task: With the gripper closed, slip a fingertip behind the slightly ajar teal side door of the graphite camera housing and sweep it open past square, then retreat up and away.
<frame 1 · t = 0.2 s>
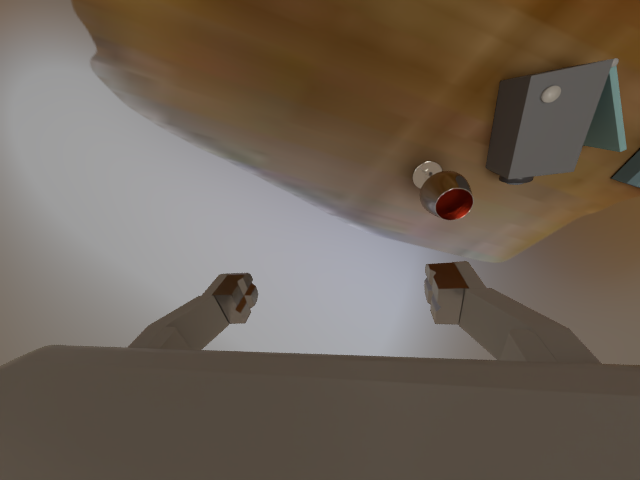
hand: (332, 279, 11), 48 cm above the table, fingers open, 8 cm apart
housing: (521, 123, 45), on the table
side door: (600, 106, 39), point 4 cm above the table, hinge at 25.0°
wineglass: (426, 175, 53), on the table
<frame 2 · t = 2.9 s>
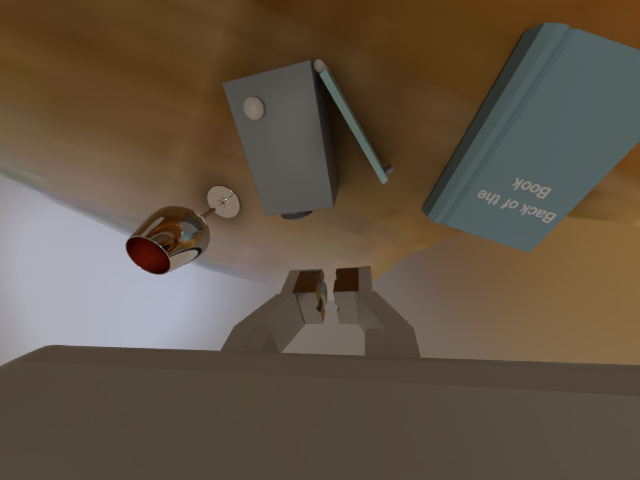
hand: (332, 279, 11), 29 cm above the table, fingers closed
housing: (300, 141, 35), on the table
book: (513, 153, 32), on the table
side door: (358, 122, 29), point 4 cm above the table, hinge at 25.0°
wineglass: (224, 201, 43), on the table
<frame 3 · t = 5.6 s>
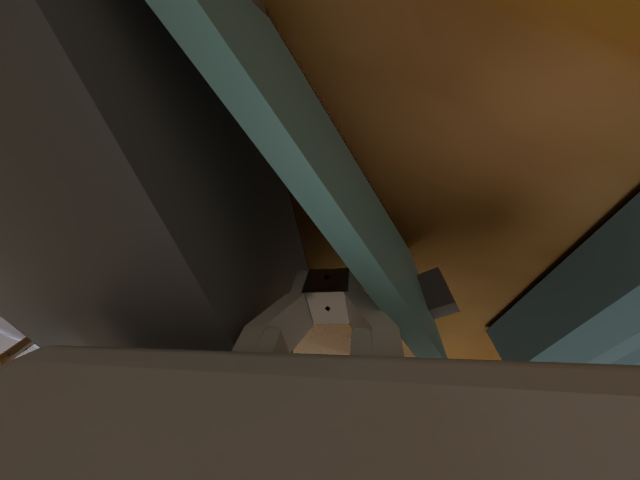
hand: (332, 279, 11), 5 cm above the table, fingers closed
housing: (214, 192, 15), on the table
side door: (347, 166, 9), point 4 cm above the table, hinge at 25.0°, touching gripper
wineglass: (101, 289, 23), on the table
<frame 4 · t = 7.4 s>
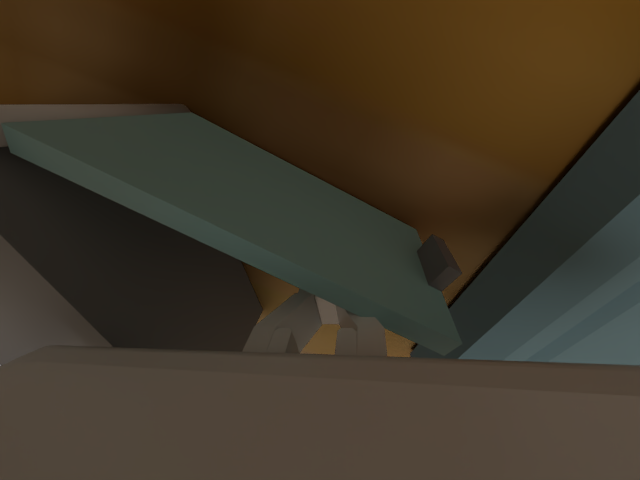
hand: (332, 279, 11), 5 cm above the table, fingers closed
housing: (172, 238, 18), on the table
book: (615, 279, 14), on the table
side door: (279, 189, 9), point 4 cm above the table, hinge at 53.6°, touching gripper
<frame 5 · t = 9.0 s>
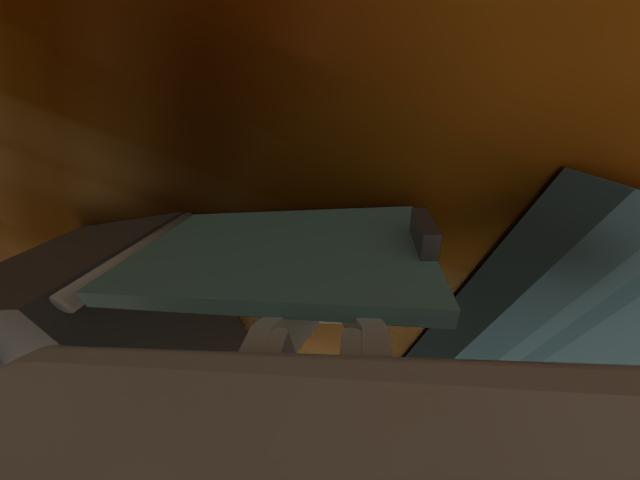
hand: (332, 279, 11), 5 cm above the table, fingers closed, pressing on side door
housing: (180, 296, 21), on the table
book: (533, 337, 18), on the table
side door: (259, 241, 11), point 4 cm above the table, hinge at 84.7°, touching gripper
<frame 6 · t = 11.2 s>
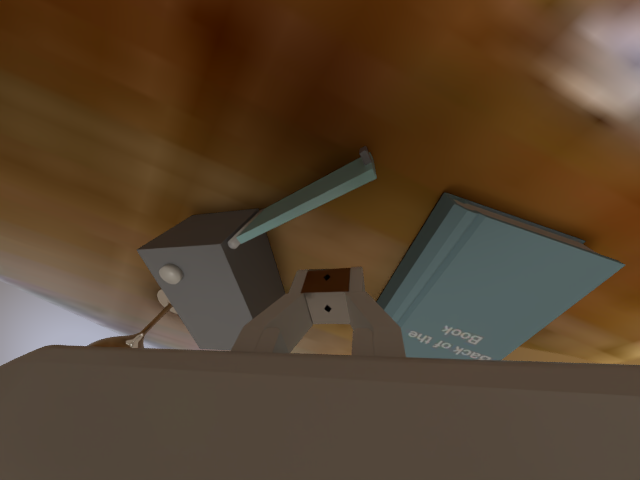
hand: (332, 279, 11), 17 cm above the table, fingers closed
housing: (243, 261, 34), on the table
book: (450, 285, 31), on the table
side door: (299, 195, 23), point 4 cm above the table, hinge at 110.2°
wineglass: (175, 300, 42), on the table
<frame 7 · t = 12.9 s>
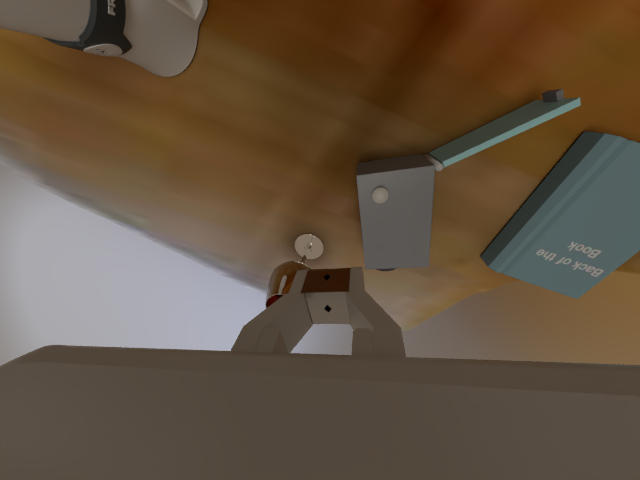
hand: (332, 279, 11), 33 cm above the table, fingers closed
housing: (389, 203, 42), on the table
book: (565, 216, 38), on the table
side door: (484, 132, 30), point 4 cm above the table, hinge at 110.2°
wineglass: (309, 246, 49), on the table
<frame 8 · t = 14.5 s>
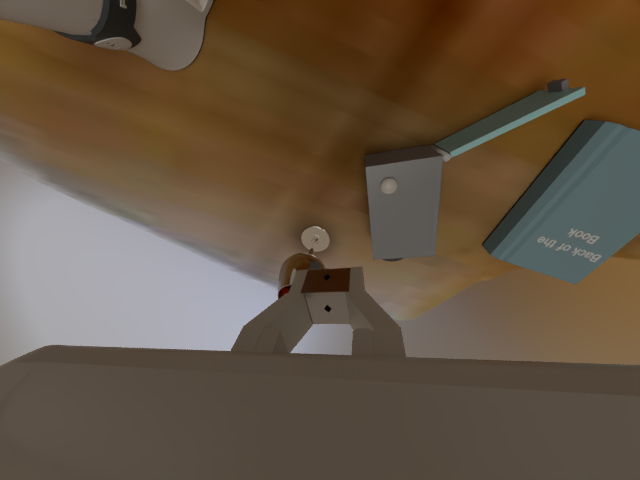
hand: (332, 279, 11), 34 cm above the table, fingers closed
housing: (395, 195, 42), on the table
book: (564, 204, 39), on the table
side door: (490, 122, 31), point 4 cm above the table, hinge at 110.2°
wineglass: (315, 238, 50), on the table
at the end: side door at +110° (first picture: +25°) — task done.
